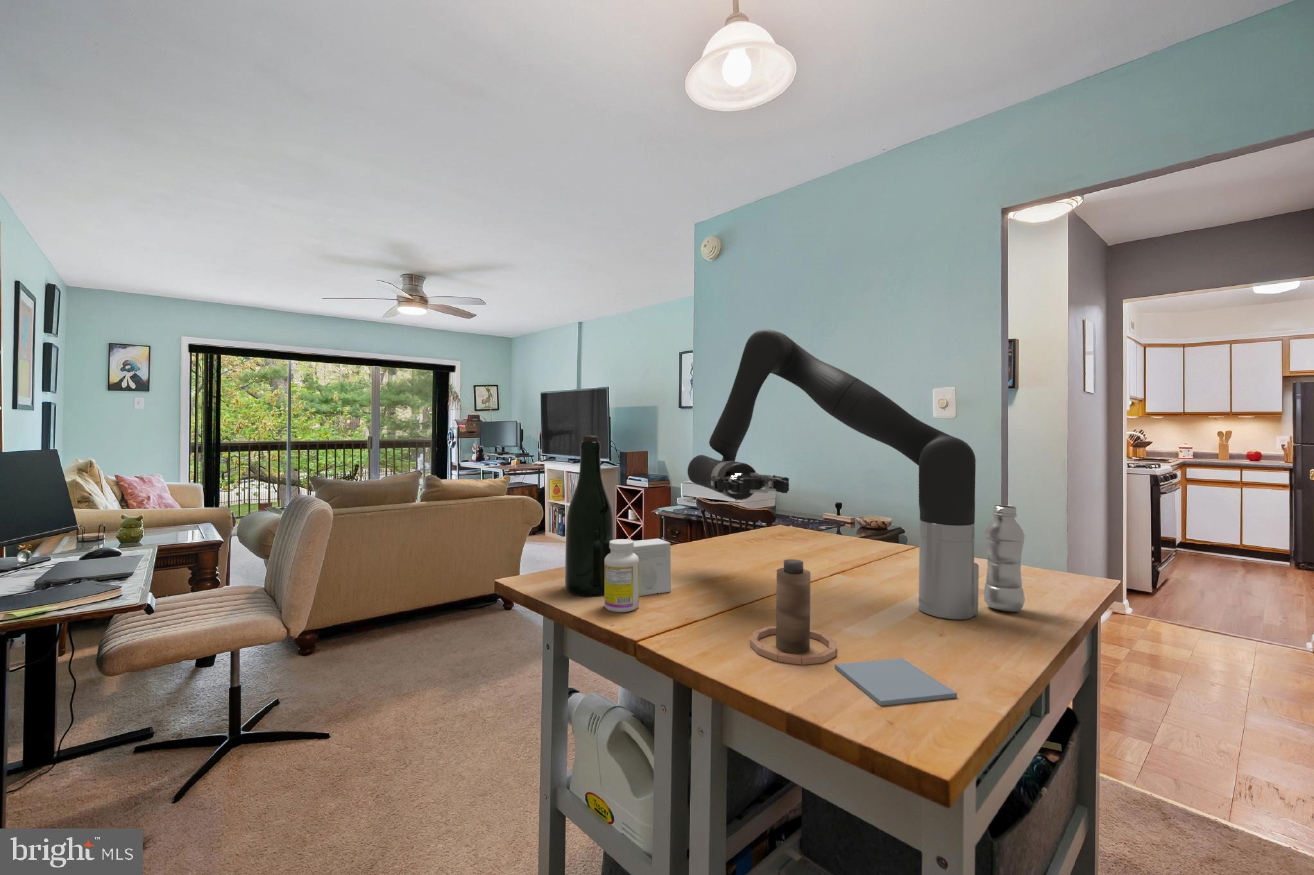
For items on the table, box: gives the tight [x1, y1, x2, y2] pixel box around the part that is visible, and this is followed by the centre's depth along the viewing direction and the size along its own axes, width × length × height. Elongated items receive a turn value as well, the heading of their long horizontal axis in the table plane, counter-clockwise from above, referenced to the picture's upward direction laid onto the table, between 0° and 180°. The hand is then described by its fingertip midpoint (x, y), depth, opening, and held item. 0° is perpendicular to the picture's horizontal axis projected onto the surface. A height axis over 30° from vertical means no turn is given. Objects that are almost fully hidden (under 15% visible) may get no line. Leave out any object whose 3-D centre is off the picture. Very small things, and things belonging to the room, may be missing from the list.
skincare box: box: [633, 538, 672, 597], centre depth 117 cm, size 10×6×10 cm, turn 115°
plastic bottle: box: [982, 504, 1025, 612], centre depth 106 cm, size 6×7×20 cm
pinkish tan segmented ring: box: [749, 625, 837, 665], centre depth 87 cm, size 13×13×1 cm
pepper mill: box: [775, 558, 811, 655], centre depth 87 cm, size 5×5×14 cm
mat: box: [834, 657, 958, 707], centre depth 75 cm, size 11×11×1 cm
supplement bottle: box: [603, 538, 640, 613], centre depth 106 cm, size 7×7×13 cm
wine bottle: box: [564, 434, 615, 597], centre depth 117 cm, size 10×10×33 cm
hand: (764, 487), depth 99 cm, fingers open, 8 cm apart
